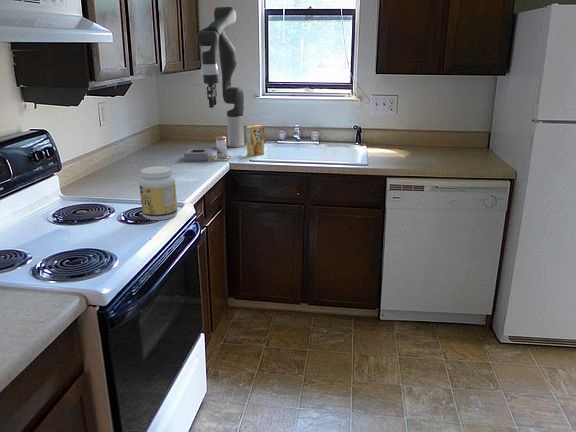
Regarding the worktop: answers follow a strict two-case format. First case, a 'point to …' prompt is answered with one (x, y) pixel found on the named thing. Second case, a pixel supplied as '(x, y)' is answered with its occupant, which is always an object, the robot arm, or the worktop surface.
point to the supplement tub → (158, 193)
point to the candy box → (255, 140)
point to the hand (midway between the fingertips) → (213, 106)
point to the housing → (198, 155)
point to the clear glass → (221, 147)
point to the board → (213, 159)
